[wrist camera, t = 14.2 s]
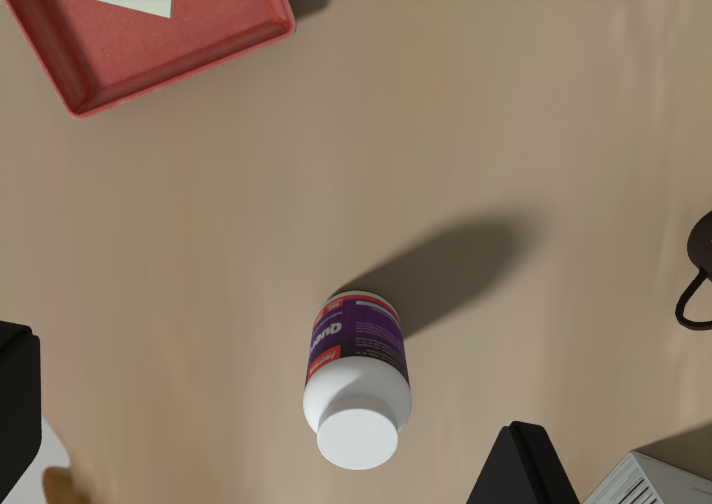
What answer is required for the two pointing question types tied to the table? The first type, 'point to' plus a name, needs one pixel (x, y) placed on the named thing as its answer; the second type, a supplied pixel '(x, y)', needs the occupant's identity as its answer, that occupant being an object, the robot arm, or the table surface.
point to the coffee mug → (708, 253)
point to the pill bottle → (357, 380)
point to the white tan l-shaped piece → (147, 6)
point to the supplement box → (650, 484)
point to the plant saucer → (141, 44)
